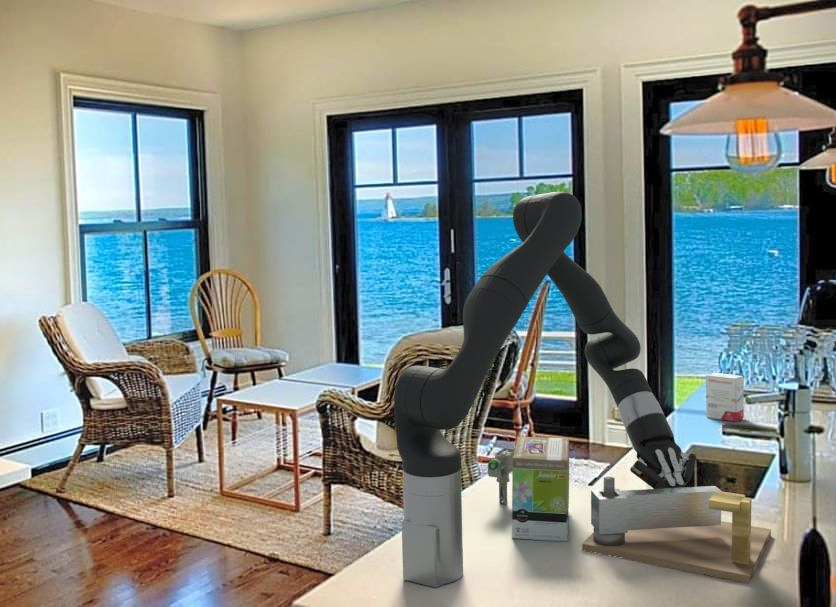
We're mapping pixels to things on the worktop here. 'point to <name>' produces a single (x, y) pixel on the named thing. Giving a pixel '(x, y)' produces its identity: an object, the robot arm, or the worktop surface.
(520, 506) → the tea box
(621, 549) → the latch board
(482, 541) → the worktop surface
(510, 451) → the mechanical component
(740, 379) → the ink box
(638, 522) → the link
